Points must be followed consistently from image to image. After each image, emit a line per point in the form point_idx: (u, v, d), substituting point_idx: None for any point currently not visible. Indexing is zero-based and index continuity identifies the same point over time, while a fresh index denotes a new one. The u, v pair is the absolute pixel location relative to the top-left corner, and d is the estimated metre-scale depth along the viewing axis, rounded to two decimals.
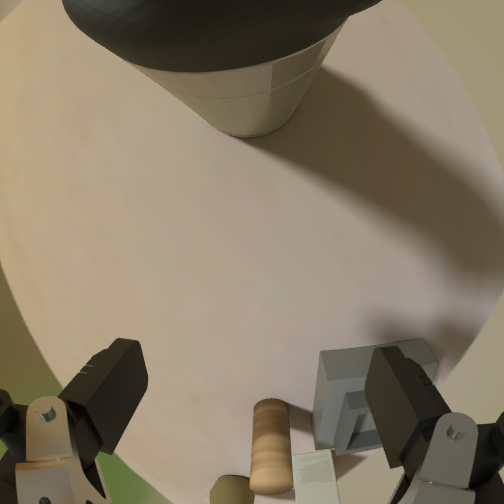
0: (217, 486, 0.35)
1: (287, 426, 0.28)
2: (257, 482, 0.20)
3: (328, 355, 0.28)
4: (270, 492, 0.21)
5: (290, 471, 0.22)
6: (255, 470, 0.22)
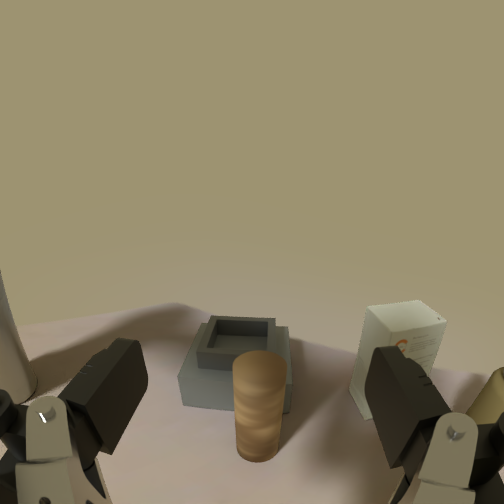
0: None
1: None
2: (240, 374, 0.20)
3: None
4: (281, 366, 0.21)
5: None
6: (240, 391, 0.20)
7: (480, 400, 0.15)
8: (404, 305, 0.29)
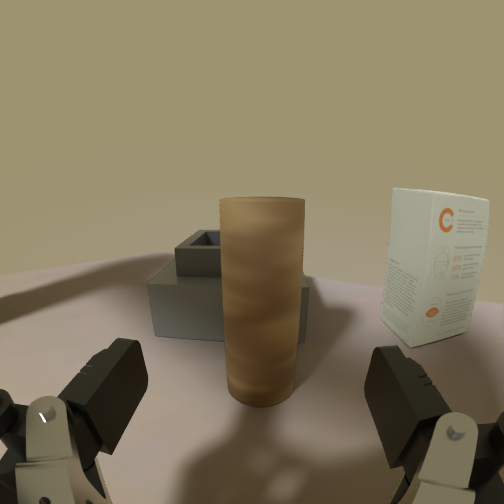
0: None
1: None
2: (231, 200, 0.13)
3: None
4: (294, 199, 0.14)
5: None
6: (230, 234, 0.13)
7: None
8: None
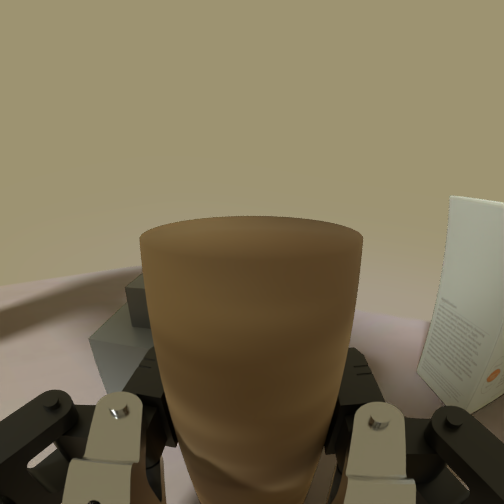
0: None
1: None
2: (159, 243, 0.04)
3: None
4: (336, 231, 0.05)
5: None
6: (161, 336, 0.05)
7: None
8: None
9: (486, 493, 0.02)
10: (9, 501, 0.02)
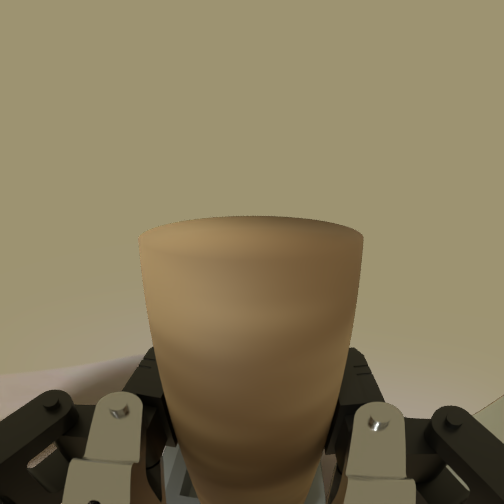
0: None
1: None
2: (157, 244, 0.04)
3: None
4: (336, 231, 0.05)
5: None
6: (160, 337, 0.05)
7: None
8: None
9: (486, 493, 0.02)
10: (9, 502, 0.02)
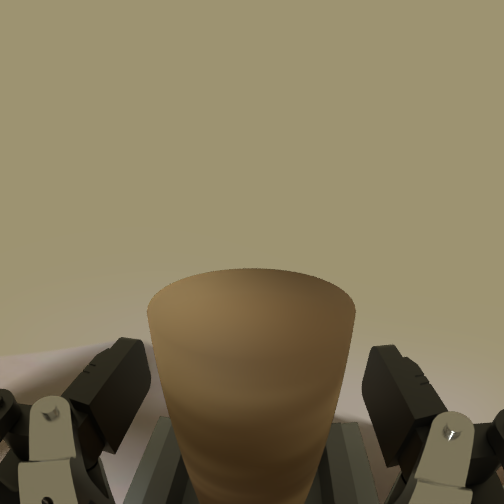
0: None
1: None
2: (166, 325, 0.05)
3: None
4: (331, 301, 0.06)
5: None
6: (172, 399, 0.05)
7: None
8: None
9: None
10: None
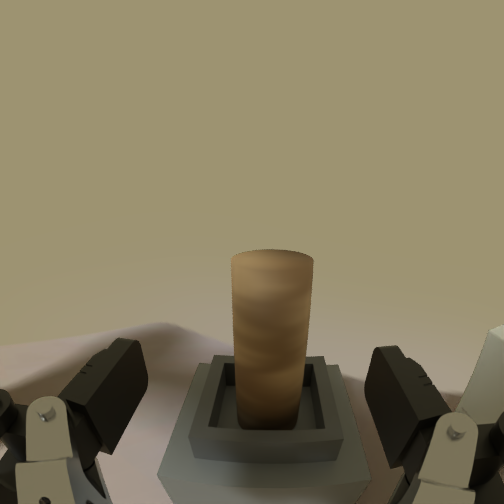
0: None
1: None
2: (243, 265, 0.14)
3: None
4: (304, 259, 0.15)
5: None
6: (242, 296, 0.14)
7: None
8: None
9: None
10: None
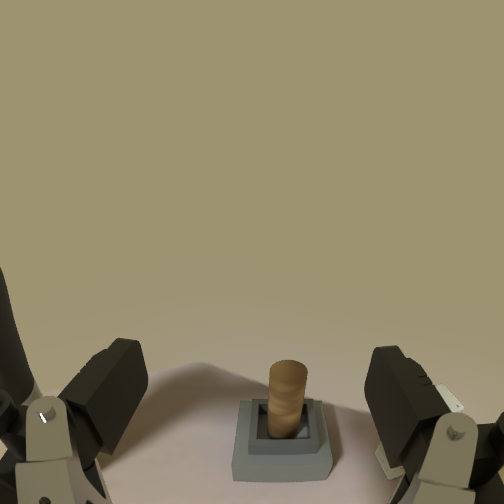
0: None
1: None
2: (276, 378, 0.29)
3: None
4: (303, 371, 0.30)
5: None
6: (275, 389, 0.29)
7: None
8: None
9: None
10: None
